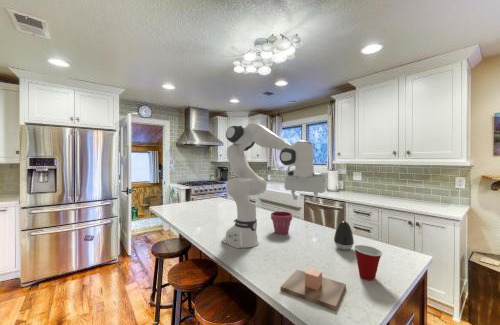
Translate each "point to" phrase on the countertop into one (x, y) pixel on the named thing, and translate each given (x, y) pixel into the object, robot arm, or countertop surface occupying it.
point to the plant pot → (281, 221)
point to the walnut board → (324, 296)
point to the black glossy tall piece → (344, 236)
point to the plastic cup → (367, 261)
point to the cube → (313, 278)
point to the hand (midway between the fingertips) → (304, 200)
